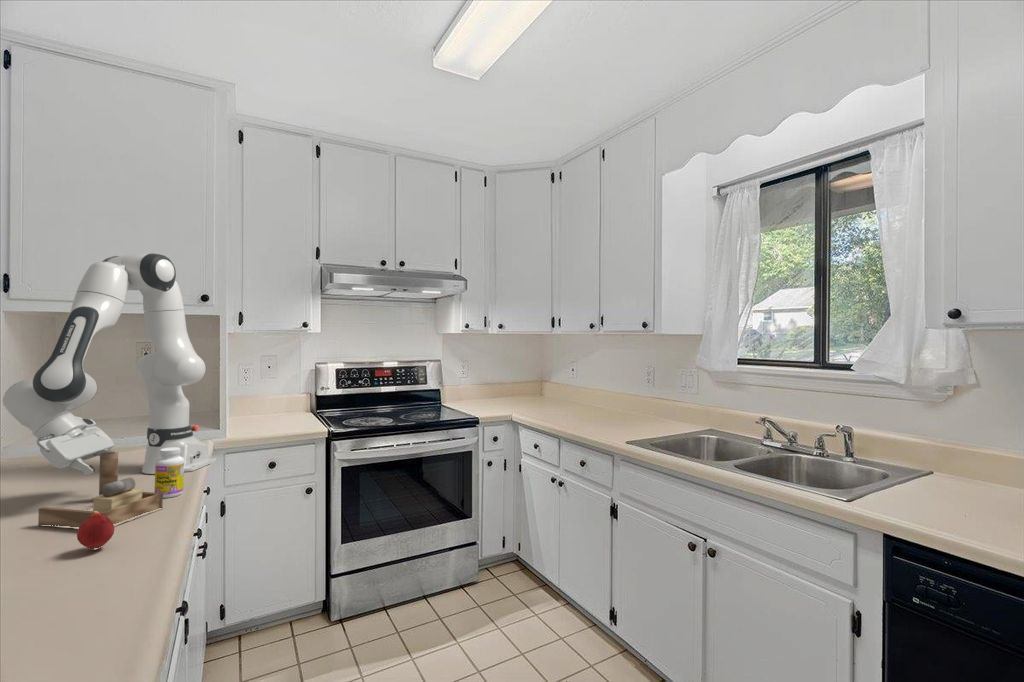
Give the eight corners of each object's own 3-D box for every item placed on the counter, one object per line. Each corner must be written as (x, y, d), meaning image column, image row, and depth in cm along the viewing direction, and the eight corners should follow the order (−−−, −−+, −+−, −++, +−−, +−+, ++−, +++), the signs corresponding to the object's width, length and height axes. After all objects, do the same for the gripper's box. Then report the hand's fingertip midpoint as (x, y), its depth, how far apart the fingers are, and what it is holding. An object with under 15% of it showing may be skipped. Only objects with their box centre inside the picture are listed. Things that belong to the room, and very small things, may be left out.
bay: (105, 504, 131) (105, 489, 131) (162, 509, 128) (162, 493, 128) (38, 526, 115) (38, 508, 115) (101, 531, 113) (102, 513, 113)
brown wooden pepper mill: (108, 496, 138) (110, 448, 138) (124, 497, 137) (125, 449, 137) (91, 501, 133) (92, 451, 133) (107, 503, 132) (108, 452, 132)
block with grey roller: (124, 510, 126) (125, 475, 126) (143, 511, 125) (144, 477, 125) (91, 521, 117) (92, 484, 118) (111, 523, 117) (112, 486, 117)
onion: (109, 542, 107) (110, 504, 107) (117, 549, 103) (118, 510, 103) (73, 550, 102) (74, 511, 103) (80, 558, 99) (81, 517, 99)
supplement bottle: (150, 499, 136) (151, 451, 136) (160, 492, 142) (161, 446, 142) (178, 497, 138) (179, 450, 138) (186, 491, 144) (188, 446, 144)
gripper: (43, 430, 123) (87, 469, 125) (96, 418, 143) (133, 452, 145) (21, 448, 122) (66, 488, 124) (77, 434, 143) (115, 468, 144)
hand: (102, 468), depth 135 cm, fingers open, 8 cm apart
